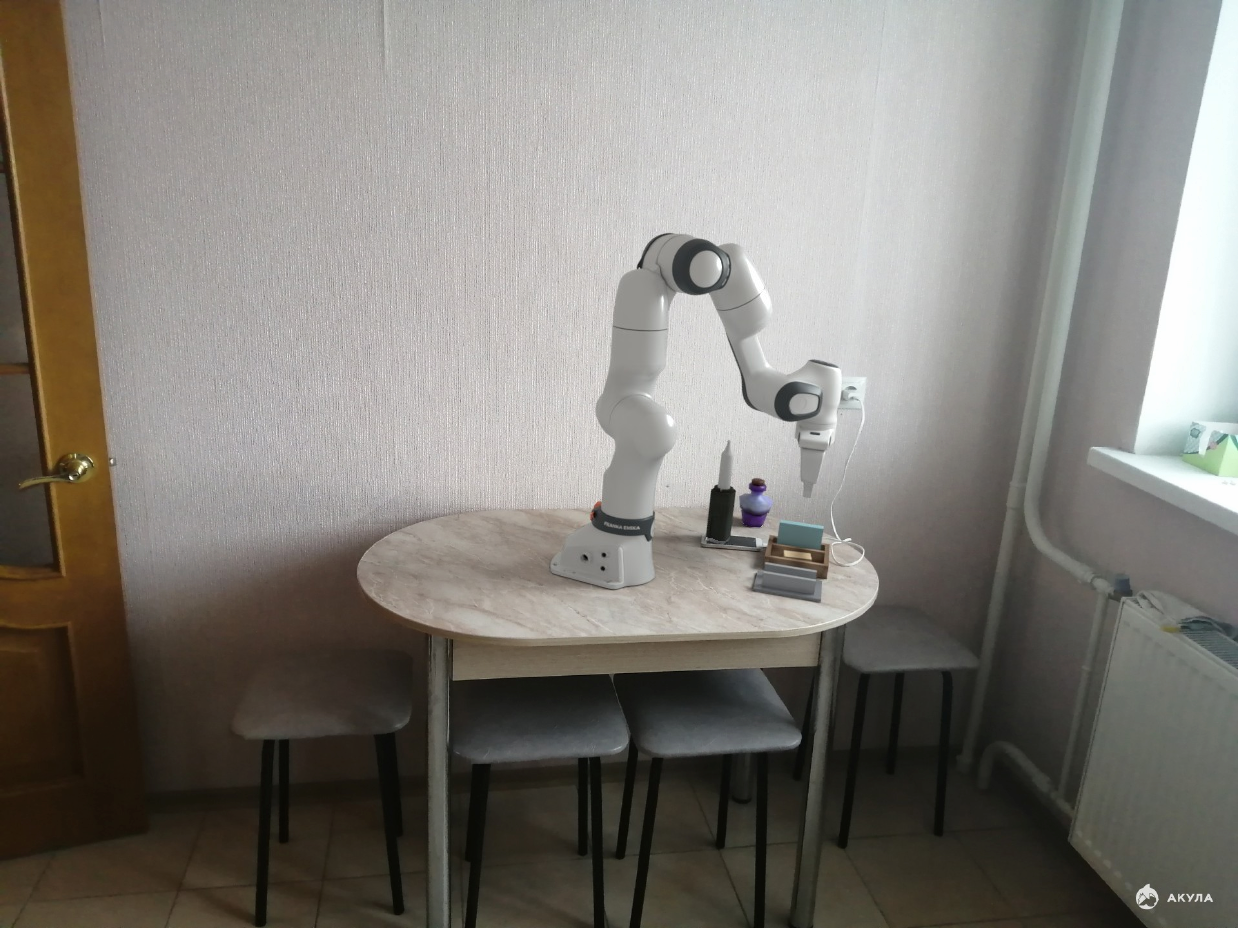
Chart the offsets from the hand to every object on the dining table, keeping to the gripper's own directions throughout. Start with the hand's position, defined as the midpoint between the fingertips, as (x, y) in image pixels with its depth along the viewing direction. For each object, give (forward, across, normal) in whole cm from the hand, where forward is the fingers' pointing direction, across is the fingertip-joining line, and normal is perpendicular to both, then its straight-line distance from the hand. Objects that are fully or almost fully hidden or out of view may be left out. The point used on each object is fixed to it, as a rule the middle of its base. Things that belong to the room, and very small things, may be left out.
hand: (807, 490), depth 203 cm
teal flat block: (+16, 0, 0) cm, 16 cm away
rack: (+16, +4, -1) cm, 17 cm away
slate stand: (+16, +19, -2) cm, 25 cm away
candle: (+16, -2, -20) cm, 25 cm away
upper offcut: (+15, +7, 0) cm, 17 cm away
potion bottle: (+16, -17, -12) cm, 27 cm away
